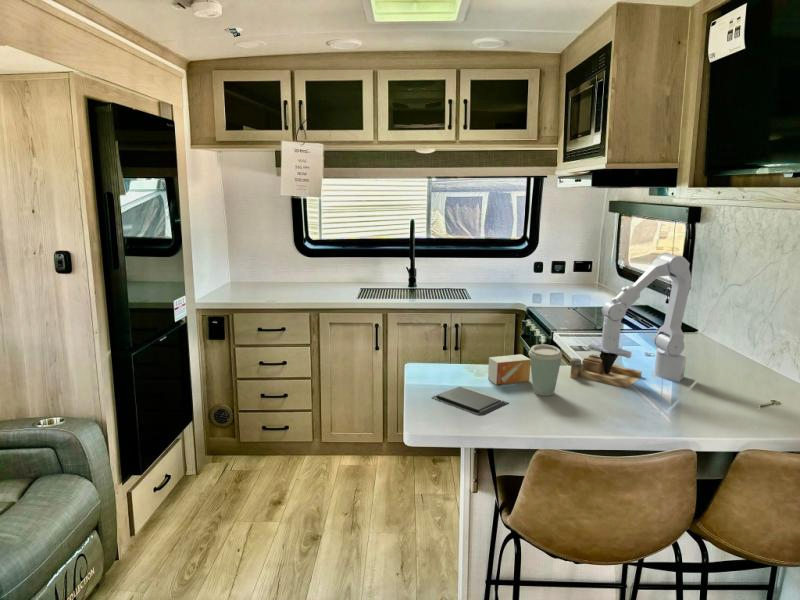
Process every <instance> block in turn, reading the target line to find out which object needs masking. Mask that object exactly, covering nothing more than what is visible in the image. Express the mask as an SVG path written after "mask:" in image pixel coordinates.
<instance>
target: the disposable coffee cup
mask: <svg viewBox="0 0 800 600" xmlns="http://www.w3.org/2000/svg"><path fill="white" fill-rule="evenodd" d="M528 356H529V359H530V373H531V380H532V381H531V382H532V388H533V391H534V393H535V394H536V393H537V394H536V395H538V394H539V395H538V396H545V395H546V396H547V397H549V396H552V395H553V394H554V392H555V391H556V386H557V381H558V376H559V372H560V367H561V362H562V359H563V353H562V351H561V350H560V348H559V347H557V346H555V345H550V344H543V343H541V344H535V345H532V346H531V347H530V350H528Z"/></svg>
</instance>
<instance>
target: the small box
mask: <svg viewBox="0 0 800 600" xmlns="http://www.w3.org/2000/svg"><path fill="white" fill-rule="evenodd" d="M487 373H488V374H487V380H489V381H490V382H491V383H493V384H494V385H496V386H497V385H498V386H499V384H500V385H507V384H510V385H511V384H517V383H518V382H519V383H526V382H527V381H528V382H530V373H531V364H530V357H527V356H525V355H524V354H520V353H519V354H510V355H509V354H508V355H502V356H492V357H491V356H490V357H488V371H487ZM519 383H518V384H519Z"/></svg>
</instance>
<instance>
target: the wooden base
mask: <svg viewBox="0 0 800 600" xmlns="http://www.w3.org/2000/svg"><path fill="white" fill-rule="evenodd" d="M591 355H593V356H598V354H591ZM598 357H599V356H598ZM569 365H570V377H569V378H571V379H574V380H576V379H578V378H583V379H588V380H590V381H591V380H592V381H596V382H600V383H605V384H608V385H613V386H617V387H621V388H624V389H625V388H626V389H627V388H629V387H630V386H631V385H633V384H634V383H636V381H638V380H639V379H641V378H642V370H637V369H632V368H628V367H624V366H619V365H616V364H615V365H614V364H613V365H612V368H611V371H610V373H609V374H605V373H604V374H598V373H594V372H589V371H585V370H583V368H584V364H583V363H582V359H580V358H574V357H572V358H570V360H569Z"/></svg>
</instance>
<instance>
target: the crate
mask: <svg viewBox="0 0 800 600" xmlns="http://www.w3.org/2000/svg"><path fill="white" fill-rule="evenodd" d="M593 355H594V354H593ZM593 355H592V354H589V355H588V357H585V358H583V359H582V360H581V363H583V364H584V368H583V370H585V371H589V372H594V373H598V374H604V373H605V372H604V366H603V363H602V360H601V358H600V356H593Z"/></svg>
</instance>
